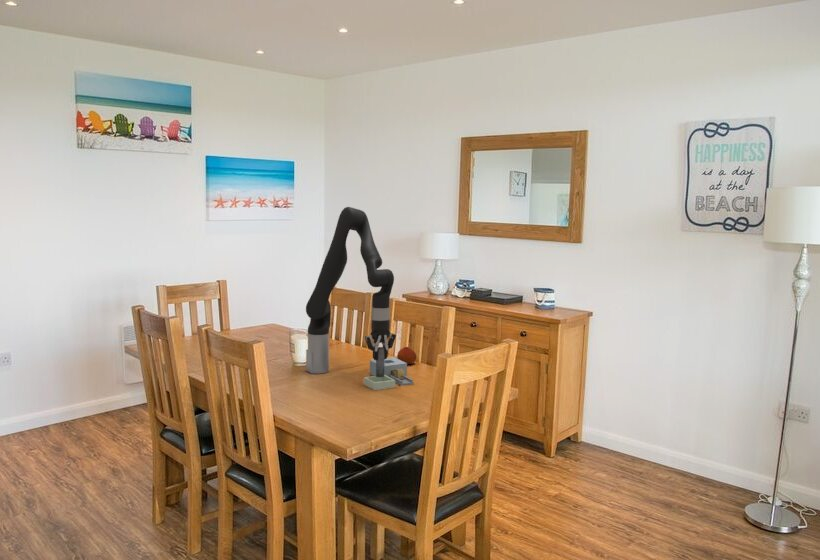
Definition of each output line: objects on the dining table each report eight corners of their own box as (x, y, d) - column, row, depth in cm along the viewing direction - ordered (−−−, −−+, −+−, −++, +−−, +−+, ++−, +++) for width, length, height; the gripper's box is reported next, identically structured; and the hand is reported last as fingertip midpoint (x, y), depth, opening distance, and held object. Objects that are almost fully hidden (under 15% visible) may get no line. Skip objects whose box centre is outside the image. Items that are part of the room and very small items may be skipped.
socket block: (419, 383, 272) (420, 369, 271) (394, 386, 266) (394, 372, 265) (393, 370, 291) (393, 357, 291) (369, 373, 285) (369, 359, 285)
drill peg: (378, 377, 264) (378, 349, 262) (374, 375, 267) (374, 347, 265) (385, 376, 266) (386, 348, 264) (381, 374, 269) (382, 346, 267)
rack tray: (374, 390, 260) (374, 383, 260) (363, 384, 268) (363, 377, 268) (395, 387, 265) (395, 380, 265) (384, 381, 273) (384, 374, 273)
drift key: (404, 378, 274) (404, 369, 274) (397, 379, 273) (398, 370, 272) (393, 373, 282) (394, 364, 281) (387, 374, 280) (387, 365, 280)
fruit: (405, 367, 297) (405, 350, 296) (393, 363, 304) (393, 346, 303) (420, 364, 302) (420, 347, 301) (408, 360, 309) (408, 344, 308)
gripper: (391, 315, 270) (390, 355, 272) (360, 317, 263) (360, 359, 265) (400, 318, 264) (399, 359, 266) (369, 321, 257) (368, 363, 259)
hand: (380, 359), depth 265 cm, fingers closed on drill peg, 3 cm apart
